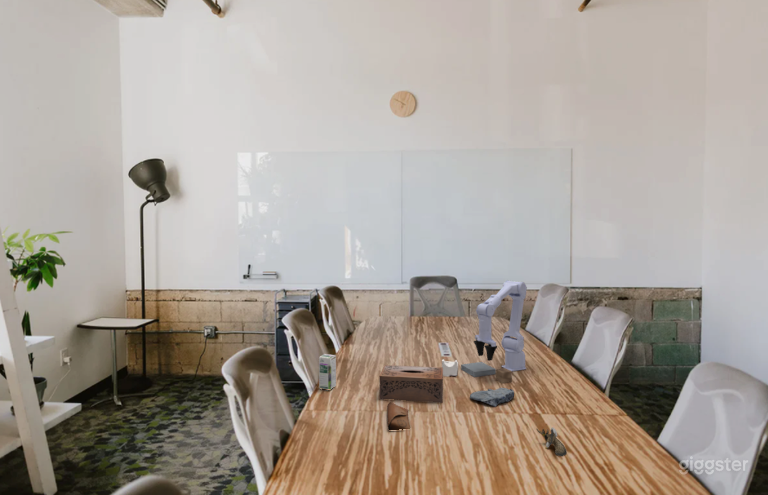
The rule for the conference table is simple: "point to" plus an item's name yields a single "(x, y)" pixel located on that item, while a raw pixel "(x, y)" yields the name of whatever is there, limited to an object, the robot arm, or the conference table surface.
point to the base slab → (478, 369)
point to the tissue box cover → (411, 383)
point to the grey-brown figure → (553, 441)
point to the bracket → (449, 368)
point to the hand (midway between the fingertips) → (485, 357)
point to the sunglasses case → (397, 417)
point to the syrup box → (327, 371)
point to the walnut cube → (503, 375)
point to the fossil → (493, 396)
